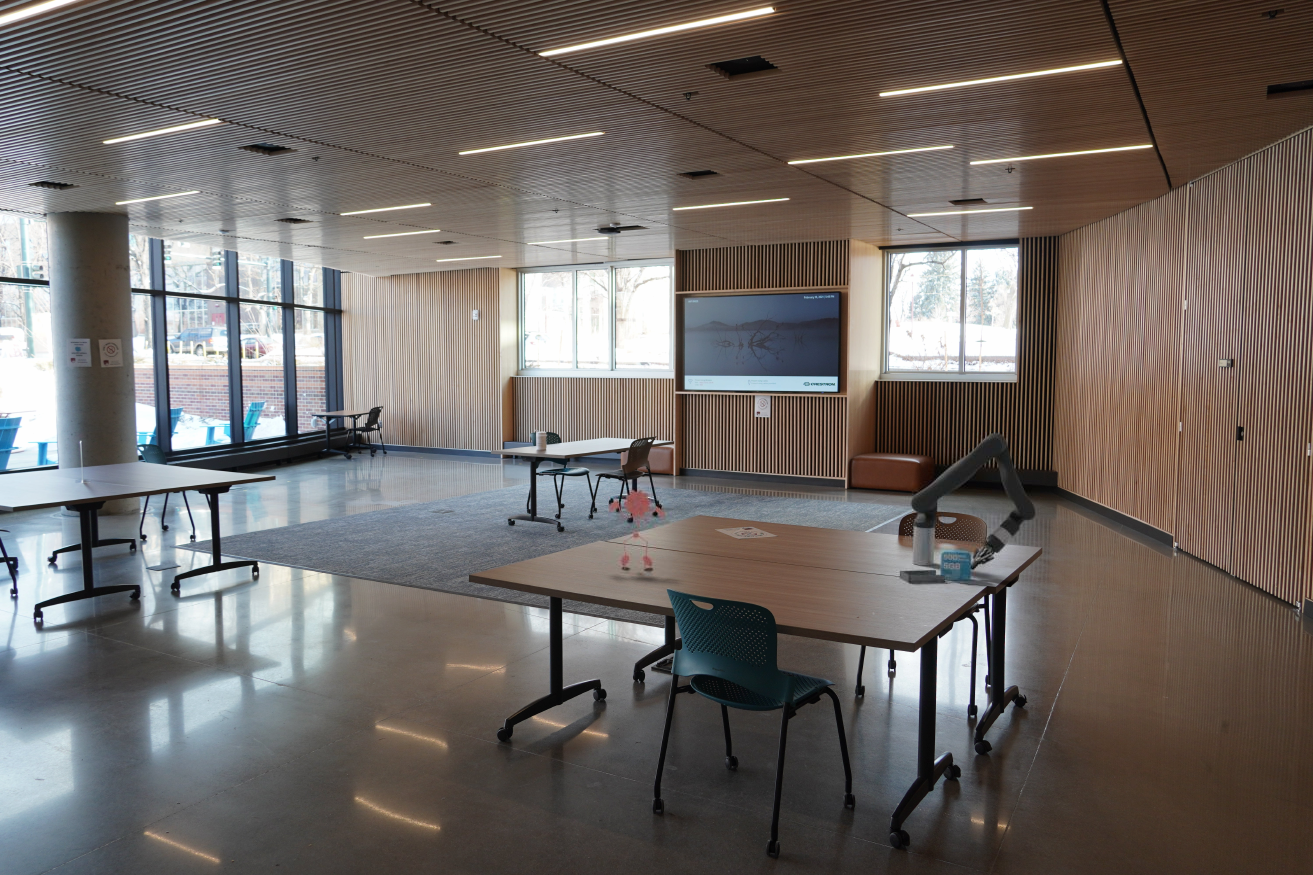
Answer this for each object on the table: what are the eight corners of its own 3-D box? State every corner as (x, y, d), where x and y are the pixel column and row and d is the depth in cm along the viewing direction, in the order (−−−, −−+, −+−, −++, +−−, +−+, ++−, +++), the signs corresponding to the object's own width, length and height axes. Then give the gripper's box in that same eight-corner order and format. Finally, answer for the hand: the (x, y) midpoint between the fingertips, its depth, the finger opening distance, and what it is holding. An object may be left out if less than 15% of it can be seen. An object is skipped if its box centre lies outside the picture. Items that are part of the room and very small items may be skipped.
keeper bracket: (899, 577, 385) (899, 570, 385) (935, 576, 387) (935, 569, 387) (908, 583, 376) (909, 575, 375) (945, 581, 378) (945, 574, 378)
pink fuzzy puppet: (663, 571, 396) (663, 492, 394) (606, 568, 401) (606, 490, 399) (668, 564, 411) (669, 488, 410) (614, 562, 416) (614, 487, 414)
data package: (940, 579, 383) (941, 551, 382) (940, 576, 387) (940, 549, 386) (970, 580, 380) (971, 552, 379) (969, 578, 384) (970, 550, 383)
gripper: (984, 530, 391) (957, 559, 390) (1000, 536, 378) (972, 565, 377) (995, 542, 392) (968, 570, 391) (1012, 548, 379) (983, 577, 378)
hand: (970, 568), depth 384 cm, fingers closed
